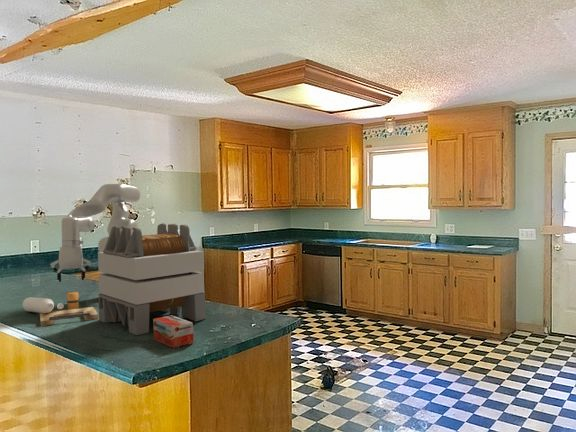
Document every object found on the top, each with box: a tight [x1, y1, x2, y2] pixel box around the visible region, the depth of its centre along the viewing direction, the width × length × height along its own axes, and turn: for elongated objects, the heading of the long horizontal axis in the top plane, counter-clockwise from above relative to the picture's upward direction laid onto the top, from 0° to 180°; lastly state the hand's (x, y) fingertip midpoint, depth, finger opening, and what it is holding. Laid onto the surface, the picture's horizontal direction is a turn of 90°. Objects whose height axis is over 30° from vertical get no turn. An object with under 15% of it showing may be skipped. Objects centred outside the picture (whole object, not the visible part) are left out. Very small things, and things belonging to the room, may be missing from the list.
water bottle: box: [21, 296, 65, 314], centre depth 214 cm, size 9×6×25 cm
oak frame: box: [39, 306, 99, 327], centre depth 208 cm, size 22×16×3 cm
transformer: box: [97, 222, 207, 336], centre depth 203 cm, size 34×33×41 cm
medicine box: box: [152, 314, 194, 349], centre depth 172 cm, size 15×8×8 cm, turn 43°
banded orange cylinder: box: [66, 291, 80, 310], centre depth 222 cm, size 5×5×8 cm
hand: (71, 280), depth 221 cm, fingers open, 9 cm apart
